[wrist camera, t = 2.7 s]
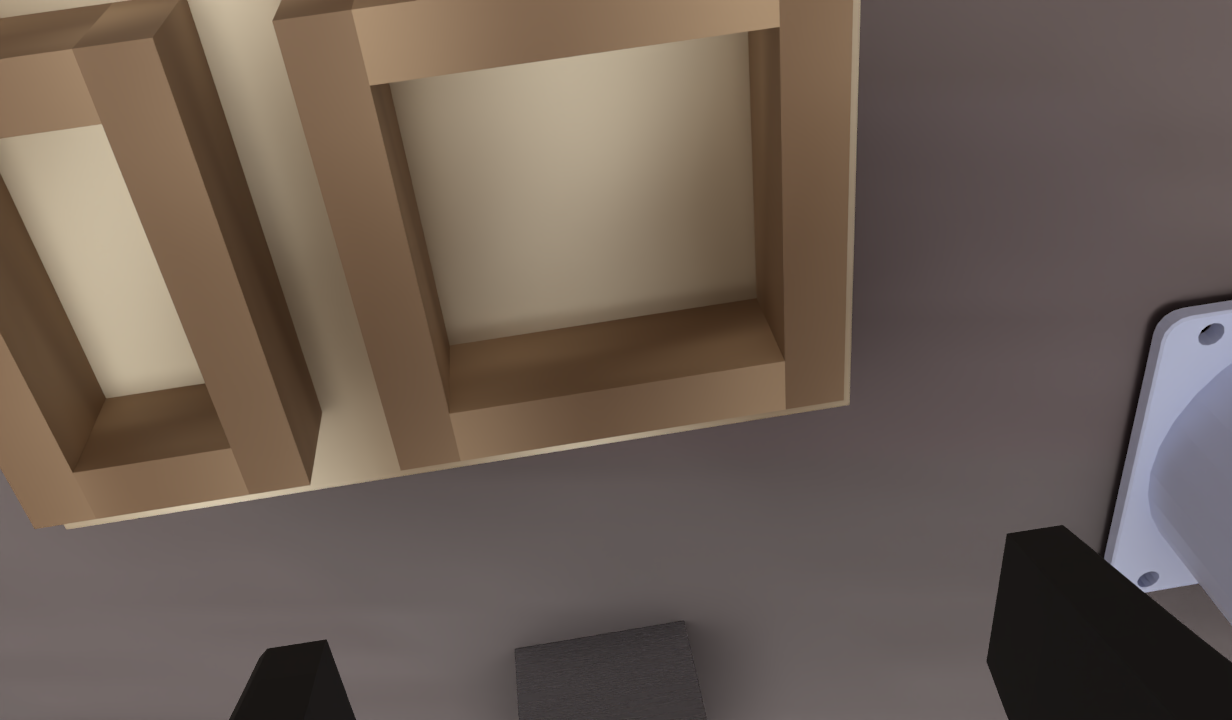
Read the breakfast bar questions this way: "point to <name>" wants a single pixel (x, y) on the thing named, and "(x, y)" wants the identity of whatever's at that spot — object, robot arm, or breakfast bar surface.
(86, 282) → the holder board
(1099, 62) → the breakfast bar surface
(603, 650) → the square bit
